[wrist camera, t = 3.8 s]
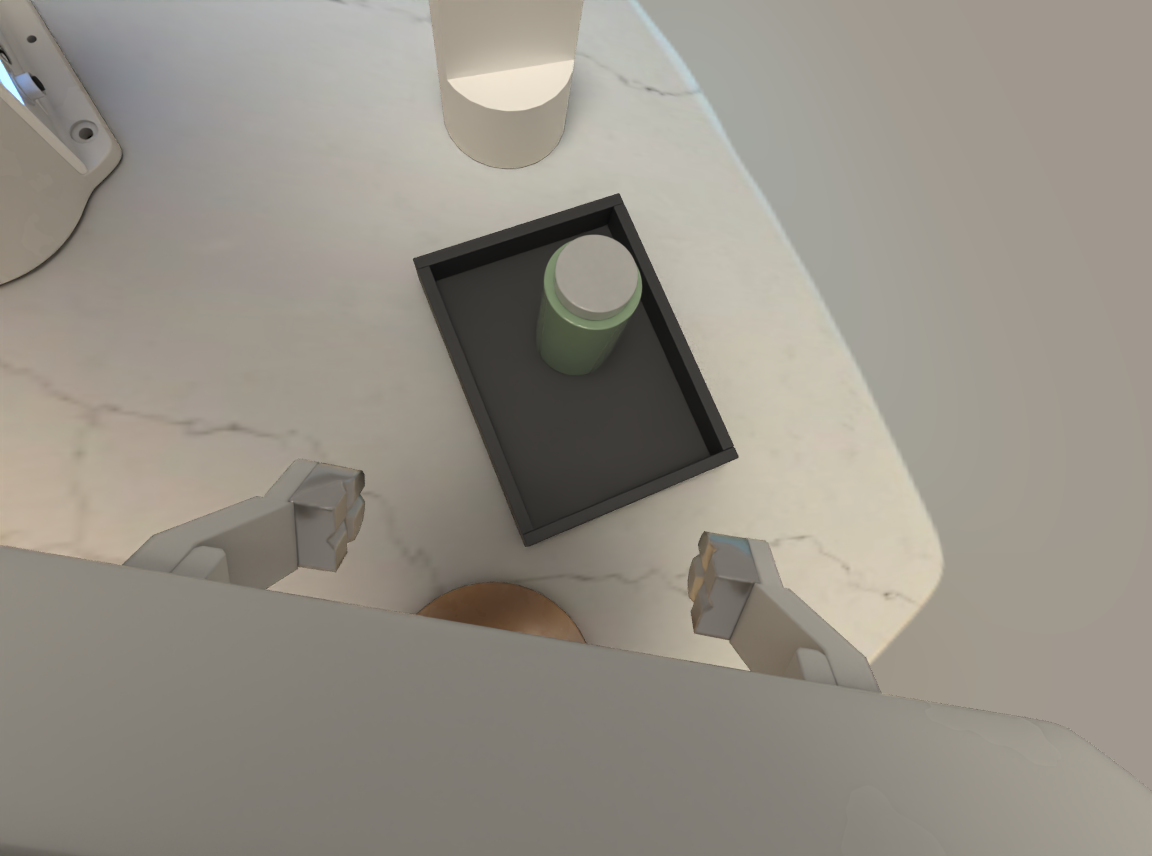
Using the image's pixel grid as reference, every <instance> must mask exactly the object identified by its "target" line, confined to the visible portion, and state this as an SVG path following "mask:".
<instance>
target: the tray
mask: <svg viewBox="0 0 1152 856" xmlns="http://www.w3.org/2000/svg"><path fill="white" fill-rule="evenodd" d="M586 235H602V236H606V237H609V238H612V239H614V240H616V241H618V242H619V243H621V244H622V245H623V246H624V247H625V248H626V249H627V250H628V251H629V252H630V254H631V255H632V257H633V259H634V261H635V263H636V265H637V267H638V269H639V272H640V275H641V279H642V293H641V298H640V301H639V304H638V306H637V308H636V310H635V311H634V313H633V315H632V317H631V318H630V320H629V322H628V324H627V325H626V327H625V329H624V331H623V332H622V334H621V336H620V338H619V340H618V341H617V343H616V345H615V347H614V348H613V350H612V352H611V354H610V355H609V357H608V359H607V360H606V362H605V363H604V364H603V365H602V366H601V367H599V368H598V369H597V370H595V371H593V372H591V373H588V374H585V375H575V376H574V375H567V374H563V373H560V372H558V371H556V370H554V369H553V368H551V367H550V366H549V365H548V364H546V362H545V361H544V360H543V359H542V357H541V356H540V354H539V352H538V350H537V347H536V343H535V329H536V323H537V317H538V311H539V304H540V298H541V292H542V286H543V279H544V274H545V269H546V266H547V264H548V262H549V260H550V258H551V257H552V255H553V254H554V253H555V252H556V251H557V250H558V249H559V248H560V247H561V246H563V245H564V244H566V243H568V242H570V241H573V240H575V239H577V238H579V237H582V236H586ZM413 261H414V264H415V267H416V270H417V274H418V277H419V280H420V283H421V285H422V288H423V290H424V293H425V295H426V298H427V300H428V303H429V305H430V308H431V310H432V313H433V316H434V318H435V321H436V323H437V326H438V328H439V331H440V333H441V336H442V338H443V341H444V343H445V346H446V348H447V351H448V353H449V356H450V358H451V361H452V364H453V366H454V369H455V371H456V374H457V376H458V379H459V381H460V384H461V386H462V389H463V391H464V394H465V396H466V399H467V401H468V404H469V406H470V409H471V412H472V414H473V417H474V419H475V422H476V424H477V427H478V429H479V432H480V434H481V437H482V439H483V442H484V444H485V447H486V449H487V452H488V454H489V457H490V460H491V462H492V465H493V467H494V470H495V472H496V475H497V477H498V480H499V482H500V485H501V487H502V490H503V492H504V495H505V497H506V500H507V503H508V505H509V508H510V510H511V513H512V515H513V518H514V520H515V523H516V525H517V528H518V530H519V533H520V535H521V538H522V540H523V543H524V545H525V547H529V546H531V545H533V544H536V543H538V542H541V541H543V540H545V539H548V538H550V537H552V536H555V535H557V534H559V533H562V532H564V531H567V530H569V529H571V528H574V527H576V526H578V525H581V524H583V523H586V522H588V521H590V520H593V519H595V518H597V517H600V516H602V515H604V514H607V513H609V512H612V511H614V510H616V509H619V508H621V507H623V506H626V505H628V504H631V503H633V502H635V501H638V500H640V499H642V498H645V497H647V496H649V495H652V494H654V493H657V492H659V491H661V490H664V489H666V488H668V487H671V486H673V485H675V484H678V483H680V482H683V481H685V480H687V479H690V478H692V477H694V476H697V475H699V474H702V473H704V472H706V471H709V470H711V469H713V468H716V467H718V466H720V465H723V464H725V463H728V462H730V461H732V460H735V459H737V458H738V454H737V452H736V450H735V448H734V447H733V446H734V445H733V443H732V440H731V438H730V436H729V434H728V432H727V429H726V427H725V425H724V423H723V421H722V418H721V416H720V414H719V412H718V410H717V407H716V405H715V403H714V401H713V399H712V396H711V394H710V392H709V390H708V388H707V385H706V383H705V381H704V379H703V377H702V374H701V372H700V370H699V368H698V366H697V363H696V361H695V359H694V357H693V355H692V352H691V350H690V348H689V346H688V344H687V341H686V339H685V337H684V335H683V332H682V330H681V328H680V326H679V324H678V321H677V319H676V317H675V315H674V313H673V310H672V308H671V306H670V304H669V302H668V299H667V297H666V295H665V293H664V291H663V288H662V286H661V284H660V282H659V280H658V277H657V275H656V273H655V271H654V269H653V266H652V264H651V262H650V260H649V258H648V255H647V253H646V251H645V249H644V247H643V244H642V242H641V240H640V238H639V236H638V233H637V231H636V229H635V227H634V225H633V222H632V220H631V218H630V216H629V214H628V211H627V209H626V207H625V205H624V203H623V200H622V198H621V196H620V194H619V193H618V194H615V195H612V196H609V197H605V198H602V199H599V200H596V201H593V202H590V203H587V204H583V205H580V206H577V207H574V208H571V209H568V210H565V211H561V212H558V213H555V214H552V215H549V216H546V217H542V218H539V219H536V220H533V221H530V222H527V223H524V224H520V225H517V226H514V227H511V228H508V229H505V230H502V231H498V232H495V233H492V234H489V235H486V236H483V237H480V238H476V239H473V240H470V241H467V242H464V243H461V244H458V245H454V246H451V247H448V248H445V249H442V250H439V251H435V252H432V253H429V254H426V255H423V256H420V257H417V258H414V259H413Z"/></svg>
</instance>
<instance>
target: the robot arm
mask: <svg viewBox="0 0 1152 856" xmlns="http://www.w3.org/2000/svg"><path fill="white" fill-rule="evenodd" d="M91 135H93V136H92V137H91V138H90V139H87V138H88V137H89V136H91ZM121 156H122V152H121V148H120V146H119V144H118V142H117V141H116V139H115V137H114V136H113V134H112V133H111V131H110V129H109V128H108V126H107V124H106V123H105V121H104V120H103V118H102V116H101V115H100V113H99V111H98V110H97V108H96V107H95V105H94V103H93V102H92V100H91V98H90V97H89V95H88V93H87V92H86V90H85V89H84V87H83V85H82V84H81V82H80V80H79V79H78V77H77V76H76V74H75V72H74V71H73V69H72V67H71V66H70V64H69V63H68V61H67V59H66V58H65V56H64V54H63V53H62V51H61V50H60V48H59V46H58V45H57V43H56V41H55V40H54V38H53V36H52V35H51V33H50V32H49V30H48V28H47V27H46V25H45V23H44V22H43V20H42V19H41V17H40V15H39V14H38V12H37V10H36V9H35V7H34V6H33V4H32V3H31V1H30V0H0V285H1V284H4V283H6V282H9V281H11V280H14V279H16V278H18V277H20V276H22V275H24V274H26V273H28V272H29V271H31V270H32V269H34V268H36V267H37V266H39V265H40V264H41V263H43V262H44V261H45V260H47V259H48V258H49V257H50V256H51V255H53V254H54V253H55V252H56V251H57V250H58V249H59V248H60V247H61V246H62V245H63V243H64V242H65V241H66V240H67V238H68V237H69V236H70V234H71V233H72V232H73V230H74V228H75V227H76V225H77V223H78V221H79V219H80V217H81V215H82V213H83V210H84V208H85V205H86V203H87V201H88V198H89V196H90V194H91V193H92V191H93V189H94V188H95V187H96V186H97V185H98V184H99V183H101V182H102V181H103V180H104V179H105V178H106V177H107V176H108V175H109V174H110V173H111V172H112V171H113V170H114V168H115V167H116V166H117V165H118V163H119V161H120V159H121ZM364 486H365V475H364V473H363V471H362V470H357V469H352V468H347V467H341V466H336V465H331V464H326V463H319V462H316V461H310V460H305V459H297V460H295V461H294V462H293V463H292V464H291V465H290V466H289V468H288V469H287V470H286V471H285V472H284V473H283V475H282V476H281V477H280V478H279V479H278V480H277V481H276V483H275V484H274V485H273V486H272V487H271V488H270V490H269V491H268V492H267V493H266V494H265V495H264V497H259V496H256V497H253V498H250V499H248V500H245V501H242V502H240V503H237V504H235V505H232V506H229V507H227V508H224V509H221V510H219V511H216V512H213V513H211V514H208V515H205V516H203V517H200V518H197V519H195V520H192V521H189V522H187V523H184V524H182V525H179V526H176V527H174V528H171V529H168V530H166V531H163V532H160V533H158V534H155V535H153V536H152V537H151V538H150V539H148V540H147V541H146V542H145V543H144V544H143V545H142V546H141V547H140V548H139V549H138V550H137V551H136V552H135V553H134V554H133V555H132V556H131V557H130V558H129V559H128V560H127V561H126V562H125V563H124V564H123V565H117V564H111V563H105V562H99V561H93V560H87V559H81V558H75V557H69V556H63V555H57V554H51V553H46V552H40V551H34V550H28V549H22V548H16V547H10V546H4V545H0V856H1152V791H1151V790H1150V789H1149V788H1148V787H1146V786H1145V785H1144V784H1143V783H1141V782H1140V781H1139V780H1138V779H1137V778H1135V777H1134V776H1133V775H1132V774H1131V773H1129V772H1128V771H1127V770H1125V769H1124V768H1123V767H1121V766H1120V765H1119V764H1117V763H1116V762H1115V761H1113V760H1112V759H1111V758H1109V757H1108V756H1107V755H1105V754H1104V753H1103V752H1101V751H1100V750H1099V749H1097V748H1096V747H1095V746H1093V745H1092V744H1091V743H1089V742H1088V741H1086V740H1085V739H1084V738H1082V737H1081V736H1079V735H1077V734H1076V733H1075V732H1073V731H1072V730H1070V729H1069V728H1066V727H1064V726H1061V725H1059V724H1056V723H1052V722H1049V721H1043V720H1038V719H1031V718H1026V717H1020V716H1014V715H1008V714H1002V713H996V712H990V711H984V710H978V709H972V708H966V707H960V706H954V705H948V704H942V703H936V702H930V701H924V700H918V699H912V698H906V697H900V696H893V695H888V694H882V693H881V691H880V689H879V686H878V684H877V681H876V679H875V677H874V675H873V672H872V670H871V668H870V665H869V663H868V661H867V659H866V657H865V656H864V655H863V654H862V653H860V652H859V651H858V650H857V649H856V648H855V647H854V646H853V645H852V644H850V643H849V642H848V641H847V640H846V639H845V638H844V637H843V636H841V635H840V634H839V633H838V632H837V631H836V630H835V629H834V628H833V627H831V626H830V625H829V624H828V623H827V622H826V621H825V620H824V619H823V618H821V617H820V616H819V615H818V614H817V613H816V612H815V611H814V610H813V609H811V608H810V607H809V606H808V605H807V604H806V603H805V602H804V601H803V600H801V599H800V598H799V597H798V596H797V595H796V594H795V593H794V592H792V591H791V590H790V589H787V588H784V587H783V584H782V581H781V579H780V576H779V573H778V570H777V567H776V564H775V561H774V558H773V555H772V553H771V550H770V547H769V544H768V543H767V542H766V541H764V540H758V539H751V538H740V537H734V536H728V535H722V534H717V533H711V532H705V531H704V532H703V534H702V535H701V538H700V540H699V543H698V547H699V553H700V554H699V555H697V556H696V557H694V558H693V560H692V563H691V566H690V569H689V576H688V595H689V598H690V599H691V600H692V601H693V602H694V604H693V607H692V609H691V616H692V623H693V629H694V633H695V634H700V635H705V636H710V637H715V638H720V639H725V640H730V641H729V642H730V644H731V645H732V646H733V648H734V649H735V650H736V652H737V653H738V654H739V656H740V657H741V659H742V660H743V661H744V663H745V664H746V665H747V667H748V668H749V669H750V671H746V670H740V669H734V668H728V667H722V666H716V665H711V664H705V663H699V662H693V661H687V660H681V659H675V658H669V657H663V656H657V655H651V654H645V653H639V652H633V651H627V650H621V649H615V648H609V647H603V646H598V645H592V644H586V643H580V642H574V641H568V640H562V639H556V638H550V637H544V636H538V635H532V634H526V633H520V632H514V631H508V630H503V629H497V628H491V627H485V626H479V625H473V624H467V623H461V622H455V621H449V620H443V619H437V618H431V617H425V616H419V615H414V614H408V613H402V612H396V611H390V610H384V609H378V608H372V607H366V606H360V605H354V604H348V603H342V602H336V601H331V600H325V599H319V598H313V597H307V596H301V595H295V594H289V593H283V592H277V591H271V590H265V589H267V588H268V587H270V586H272V585H273V584H275V583H276V582H278V581H279V580H281V579H283V578H284V577H286V576H287V575H289V574H290V573H292V572H294V571H295V570H297V569H298V567H302V568H309V569H316V570H323V571H330V572H336V571H337V569H338V568H339V566H340V564H341V563H342V561H343V559H344V557H345V556H346V554H347V543H349V542H351V541H353V540H355V538H356V536H357V535H358V533H359V531H360V528H361V525H362V522H363V517H364V511H365V501H364V499H363V498H362V497H361V495H360V493H361V491H362V490H363V488H364Z"/></svg>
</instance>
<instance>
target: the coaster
mask: <svg viewBox="0 0 1152 856" xmlns="http://www.w3.org/2000/svg"><path fill="white" fill-rule="evenodd" d="M416 615H419V616H425V617H431V618H437V619H443V620H449V621H455V622H461V623H467V624H473V625H479V626H485V627H491V628H497V629H503V630H508V631H514V632H520V633H526V634H532V635H538V636H544V637H550V638H556V639H562V640H568V641H574V642H580V643H586V642H585V640H584V638H583V636H582V634H581V633H580V631H579V630H578V628H577V626H576V625H575V623H574V622H573V621H572V620H571V619H570V617H569V616H568V615H567V614H566V613H565V612H564V611H563V610H562V609H561V608H560V607H559V606H558V605H556V604H555V603H554V602H553V601H551V600H550V599H548V598H547V597H545V596H544V595H542V594H540V593H538V592H536V591H534V590H532V589H529V588H526V587H523V586H520V585H516V584H511V583H506V582H482V583H475V584H471V585H466V586H463V587H460V588H457V589H454V590H452V591H450V592H448V593H446V594H444V595H442V596H440V597H438V598H437V599H435V600H434V601H432V602H431V603H429V604H428V605H426V606H425V607H424V608H423V609H422V610H421V611H420V612H418V613H417V614H416Z"/></svg>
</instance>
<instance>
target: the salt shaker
mask: <svg viewBox="0 0 1152 856" xmlns="http://www.w3.org/2000/svg"><path fill="white" fill-rule="evenodd" d="M641 293H642V279H641V275H640V272H639V269H638V267H637V265H636V263H635V261H634V259H633V257H632V255H631V254H630V252H629V251H628V250H627V249H626V248H625V247H624V246H623V245H622V244H621V243H619V242H618V241H616V240H614V239H612V238H609V237H606V236H602V235H586V236H582V237H579V238H577V239H575V240H573V241H570V242H568V243H566V244H564V245H563V246H561V247H560V248H559V249H558V250H557V251H556V252H555V253H554V254H553V255H552V257H551V258H550V260H549V262H548V264H547V266H546V269H545V274H544V279H543V286H542V292H541V298H540V304H539V311H538V317H537V323H536V329H535V343H536V347H537V350H538V352H539V354H540V356H541V357H542V359H543V360H544V361H545V362H546V364H548V365H549V366H550V367H551V368H553V369H554V370H556V371H558V372H560V373H563V374H567V375H574V376H575V375H585V374H588V373H591V372H593V371H595V370H597V369H598V368H599V367H601V366H602V365H603V364H604V363H605V362H606V360H607V359H608V357H609V355H610V354H611V352H612V350H613V348H614V347H615V345H616V343H617V341H618V340H619V338H620V336H621V334H622V332H623V331H624V329H625V327H626V325H627V324H628V322H629V320H630V318H631V317H632V315H633V313H634V311H635V310H636V308H637V306H638V304H639V301H640V298H641Z"/></svg>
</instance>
